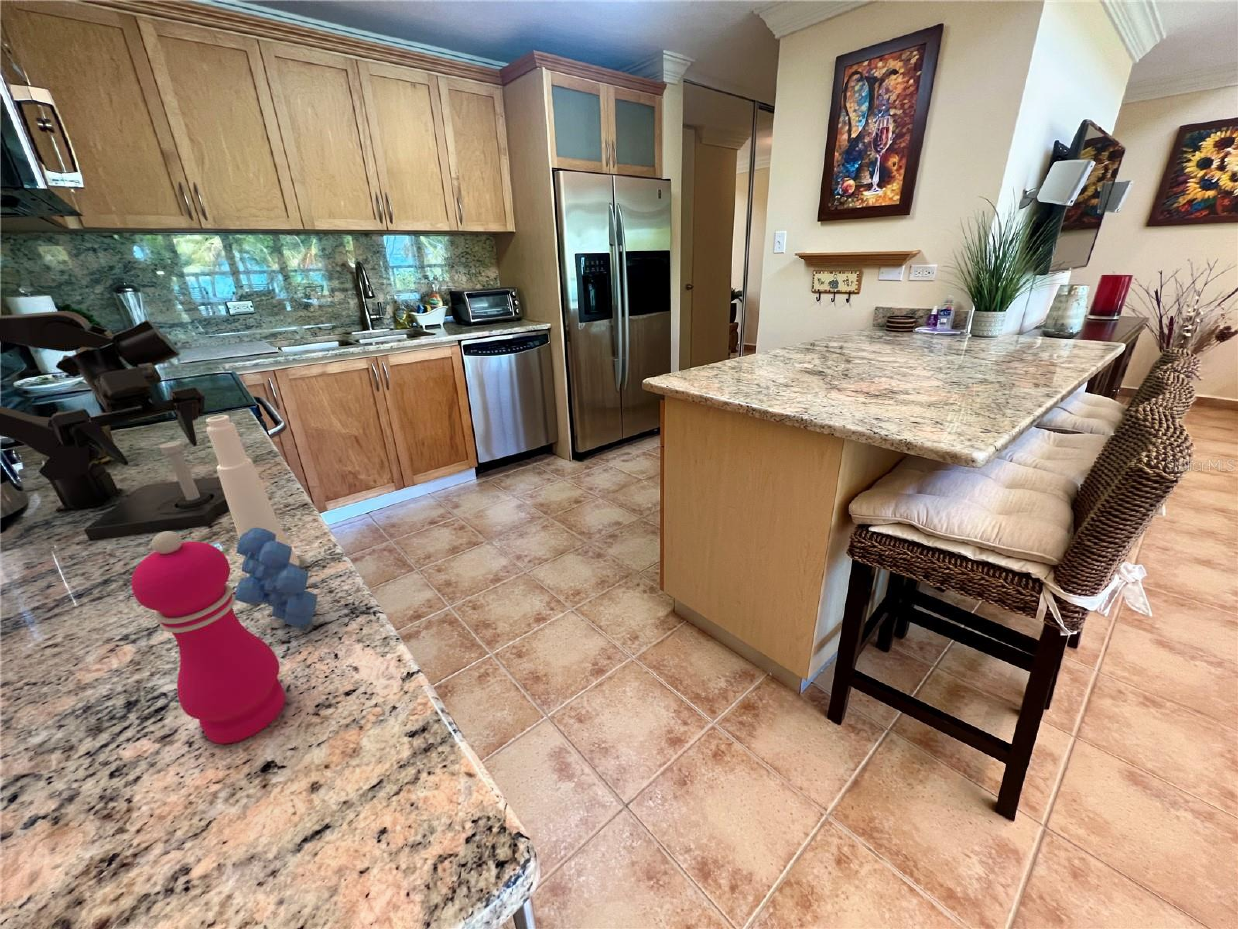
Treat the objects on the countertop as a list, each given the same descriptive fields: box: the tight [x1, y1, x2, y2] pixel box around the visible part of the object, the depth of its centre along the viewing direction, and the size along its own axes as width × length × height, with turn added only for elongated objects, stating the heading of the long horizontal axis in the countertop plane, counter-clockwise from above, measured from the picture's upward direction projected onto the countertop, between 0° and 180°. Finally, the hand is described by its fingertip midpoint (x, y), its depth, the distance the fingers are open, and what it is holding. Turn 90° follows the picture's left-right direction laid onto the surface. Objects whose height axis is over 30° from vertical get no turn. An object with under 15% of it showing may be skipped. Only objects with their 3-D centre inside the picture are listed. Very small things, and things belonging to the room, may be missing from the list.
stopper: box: [159, 440, 212, 508], centre depth 81 cm, size 4×4×12 cm
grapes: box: [234, 528, 318, 629], centre depth 55 cm, size 12×7×12 cm, turn 58°
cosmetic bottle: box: [205, 414, 300, 577], centre depth 63 cm, size 6×6×22 cm
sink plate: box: [83, 476, 230, 541], centre depth 84 cm, size 17×16×2 cm
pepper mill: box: [130, 530, 286, 744], centre depth 42 cm, size 7×7×20 cm
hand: (162, 453), depth 82 cm, fingers open, 9 cm apart
